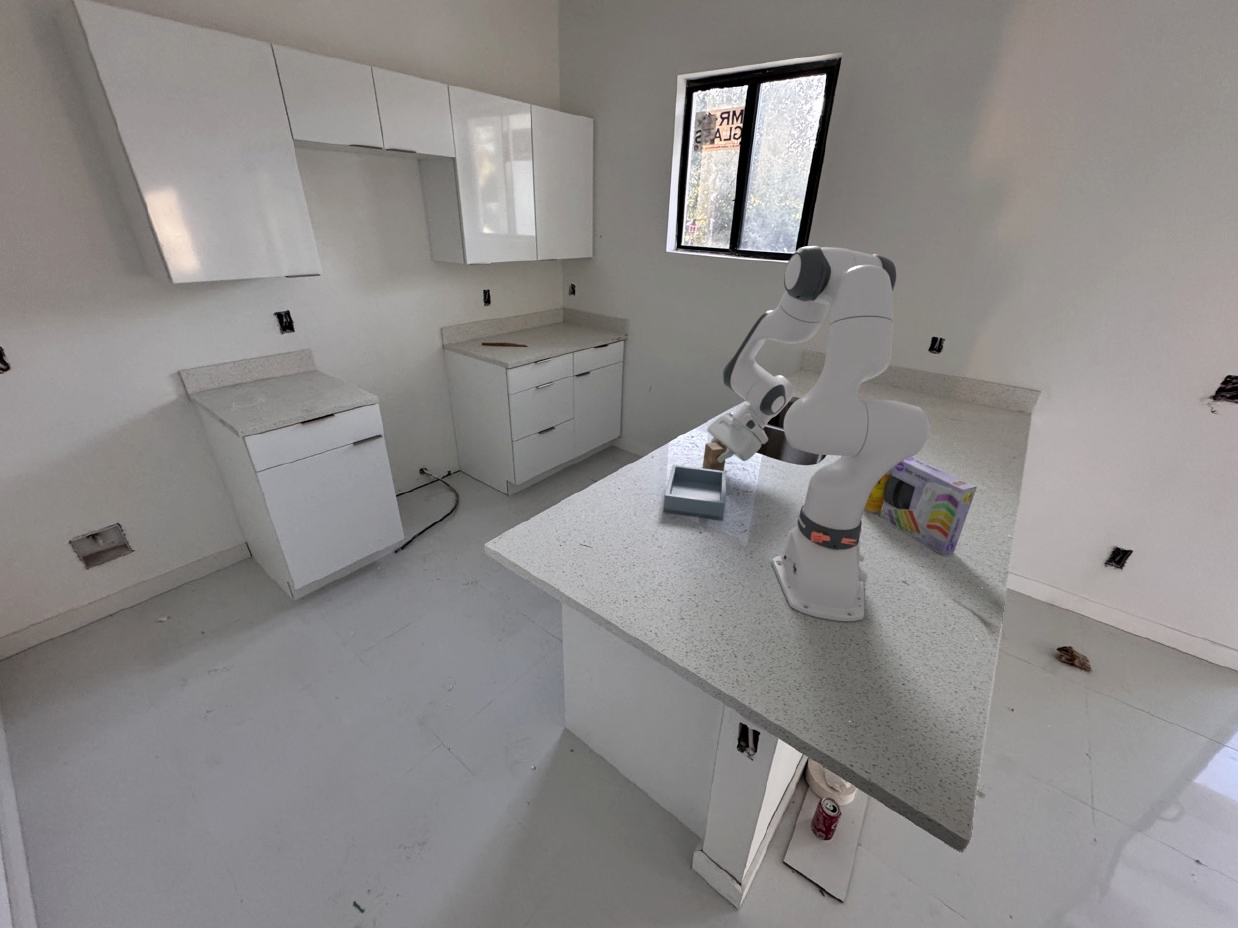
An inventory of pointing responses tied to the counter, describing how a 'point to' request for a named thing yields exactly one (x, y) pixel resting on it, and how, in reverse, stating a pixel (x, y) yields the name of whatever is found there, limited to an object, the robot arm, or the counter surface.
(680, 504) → the tote
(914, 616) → the counter surface
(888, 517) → the cake pan box
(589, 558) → the counter surface
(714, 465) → the walnut block
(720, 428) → the robot arm
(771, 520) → the counter surface
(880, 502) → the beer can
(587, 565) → the counter surface
